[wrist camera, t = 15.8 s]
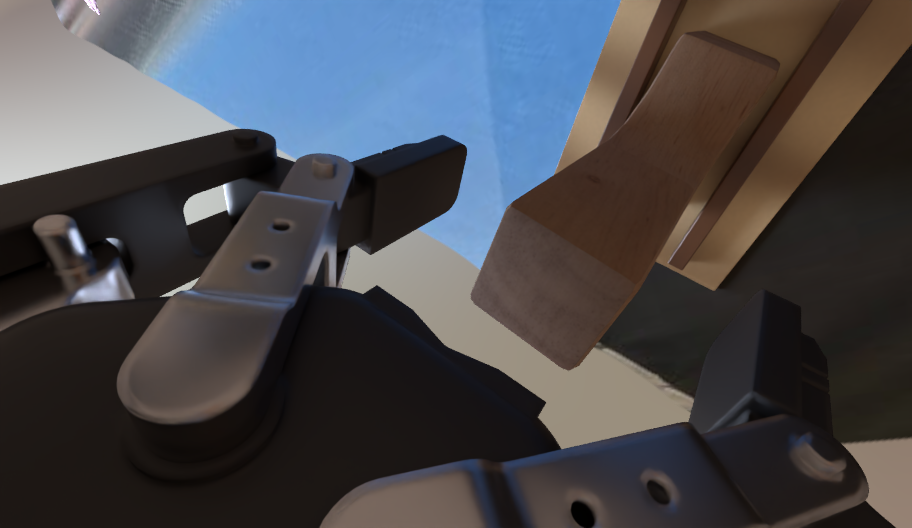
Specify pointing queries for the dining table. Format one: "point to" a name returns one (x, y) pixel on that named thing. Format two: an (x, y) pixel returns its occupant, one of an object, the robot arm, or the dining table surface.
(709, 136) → the wooden block
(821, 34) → the guide
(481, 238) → the dining table surface
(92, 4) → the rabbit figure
